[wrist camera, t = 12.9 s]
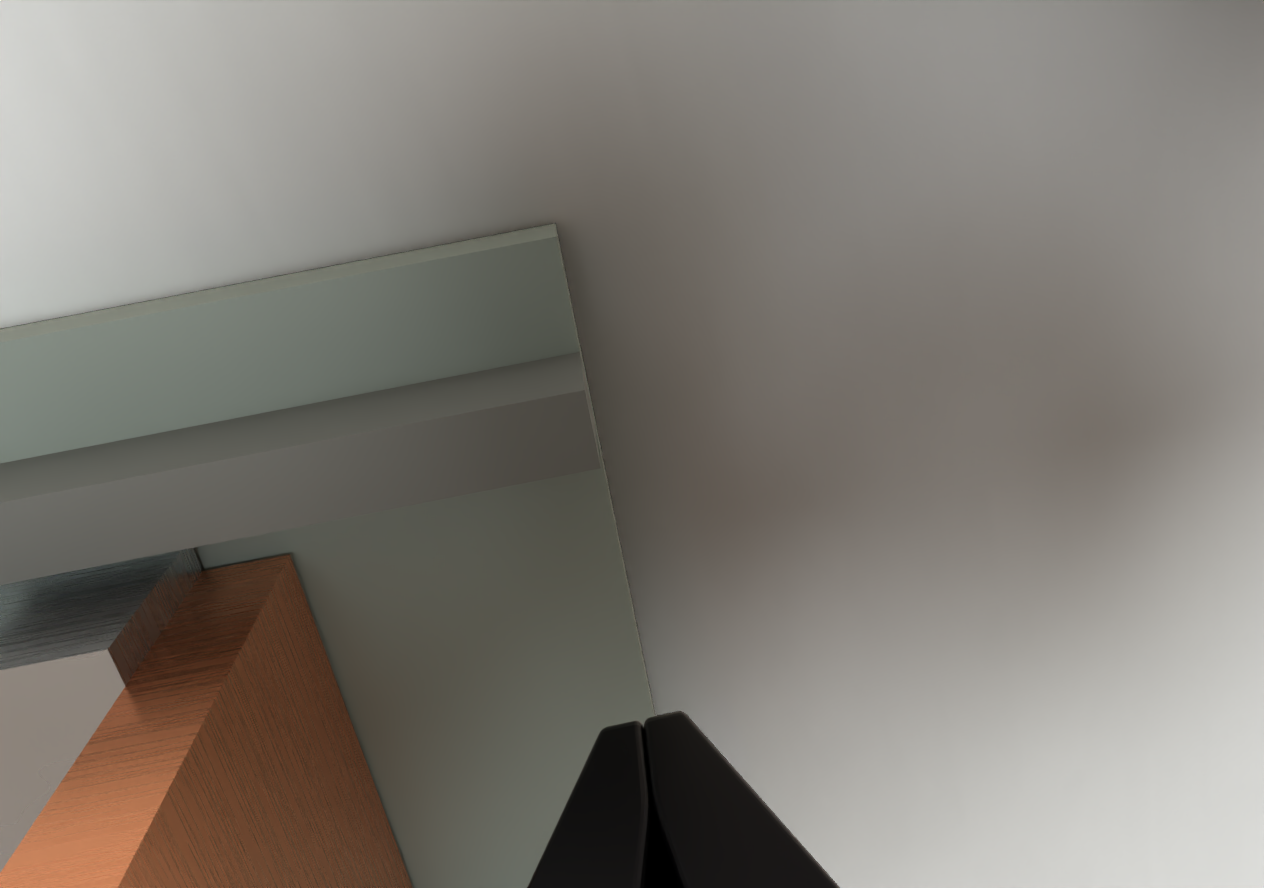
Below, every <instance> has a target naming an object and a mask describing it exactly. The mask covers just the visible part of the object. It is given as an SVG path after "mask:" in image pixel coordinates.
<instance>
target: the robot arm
mask: <svg viewBox="0 0 1264 888" xmlns="http://www.w3.org/2000/svg"><path fill="white" fill-rule="evenodd" d="M527 888H840V887H839V886H838V885H837V884H836V883H835V881H834V880H833V879H832V878H831V877H830V876H829V875H828V874H827V872H826V871H825V870H824V869H823V868H822V867H821V866H820V864H819V863H818V862H817V861H816V860H815V859H814V858H813V857H812V855H811V854H810V853H809V852H808V851H807V850H806V849H805V848H804V846H803V845H802V844H801V843H800V842H799V841H798V840H797V838H796V837H795V836H794V835H793V834H792V833H791V832H790V831H789V829H788V828H787V827H786V826H785V825H784V824H783V823H782V822H781V820H780V819H779V818H778V817H777V816H776V815H775V814H774V812H773V811H772V810H771V809H770V808H769V807H768V806H767V805H766V803H765V802H764V801H763V800H762V799H761V798H760V797H759V796H758V794H757V793H756V792H755V791H754V790H753V789H752V788H751V787H750V785H749V784H748V783H747V782H746V781H745V780H744V779H743V777H742V776H741V775H740V774H739V773H738V772H737V771H736V770H735V768H734V767H733V766H732V765H731V764H730V763H729V762H728V761H727V759H726V758H725V757H724V756H723V755H722V754H721V753H720V751H719V750H718V749H717V748H716V747H715V746H714V745H713V744H712V742H711V741H710V740H709V739H708V738H707V737H706V736H705V735H704V733H703V732H702V731H701V730H700V729H699V728H698V727H697V725H696V724H695V723H694V722H693V721H692V720H691V719H690V718H689V716H688V715H686V714H685V713H684V712H681V711H676V712H672V713H667V714H662V715H658V716H653V717H649V718H647V719H646V720H645V723H644V726H643V724H642V723H641V722H640V721H630V722H626V723H621V724H617V725H612V726H607V727H605V728H603V729H602V730H601V731H600V733H599V735H598V737H597V739H596V741H595V743H594V745H593V748H592V750H591V752H590V754H589V756H588V758H587V760H586V763H585V765H584V767H583V769H582V771H581V773H580V775H579V778H578V780H577V782H576V784H575V786H574V788H573V790H572V793H571V795H570V797H569V799H568V801H567V803H566V805H565V808H564V810H563V812H562V814H561V816H560V818H559V820H558V823H557V825H556V827H555V829H554V831H553V833H552V835H551V838H550V840H549V842H548V844H547V846H546V848H545V850H544V853H543V855H542V857H541V859H540V861H539V863H538V865H537V868H536V870H535V872H534V874H533V876H532V878H531V880H530V883H529V885H528V887H527Z"/></svg>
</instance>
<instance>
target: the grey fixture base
mask: <svg viewBox="0 0 1264 888" xmlns="http://www.w3.org/2000/svg"><path fill="white" fill-rule="evenodd" d="M189 548H193V549H194V552H195V554H196V557H197V559H198V562H199V564H200V566H201V569H202V571H206V570H212V569H217V568H222V567H227V566H232V565H237V564H242V563H247V562H253V561H258V560H263V559H268V558H273V557H278V556H283V555H288V554H290V556H291V559H292V561H293V564H294V567H295V570H296V572H297V575H298V578H299V581H300V583H301V586H302V589H303V591H304V594H305V597H306V600H307V602H308V605H309V608H310V610H311V613H312V616H313V619H314V621H315V624H316V627H317V629H318V632H319V635H320V638H321V640H322V643H323V646H324V648H325V651H326V654H327V657H328V659H329V662H330V665H331V667H332V670H333V673H334V676H335V678H336V681H337V684H338V686H339V689H340V692H341V695H342V697H343V700H344V703H345V705H346V708H347V711H348V714H349V716H350V719H351V722H352V724H353V727H354V730H355V733H356V735H357V738H358V741H359V744H360V746H361V749H362V752H363V754H364V757H365V760H366V763H367V765H368V768H369V771H370V773H371V776H372V779H373V782H374V784H375V787H376V790H377V792H378V795H379V798H380V801H381V803H382V806H383V809H384V811H385V814H386V817H387V820H388V822H389V825H390V828H391V830H392V833H393V836H394V839H395V841H396V844H397V847H398V849H399V852H400V855H401V858H402V860H403V863H404V866H405V868H406V871H407V874H408V877H409V879H410V882H411V885H412V888H527V887H528V885H529V883H530V880H531V878H532V876H533V874H534V872H535V870H536V868H537V865H538V863H539V861H540V859H541V857H542V855H543V853H544V850H545V848H546V846H547V844H548V842H549V840H550V838H551V835H552V833H553V831H554V829H555V827H556V825H557V823H558V820H559V818H560V816H561V814H562V812H563V810H564V808H565V805H566V803H567V801H568V799H569V797H570V795H571V793H572V790H573V788H574V786H575V784H576V782H577V780H578V778H579V775H580V773H581V771H582V769H583V767H584V765H585V763H586V760H587V758H588V756H589V754H590V752H591V750H592V748H593V745H594V743H595V741H596V739H597V737H598V735H599V733H600V731H601V730H602V729H603V728H605V727H607V726H612V725H617V724H621V723H626V722H630V721H640V722H641V723H642V724H643V726H644V723H645V720H646V719H647V718H649V717H653V716H655V712H654V707H653V702H652V697H651V692H650V687H649V682H648V677H647V672H646V668H645V663H644V658H643V653H642V648H641V643H640V638H639V633H638V628H637V623H636V618H635V613H634V608H633V603H632V598H631V593H630V589H629V584H628V579H627V574H626V569H625V564H624V559H623V554H622V549H621V544H620V539H619V534H618V529H617V524H616V519H615V515H614V510H613V505H612V500H611V495H610V490H609V485H608V480H607V475H606V470H605V465H604V460H603V455H602V450H601V445H600V441H599V436H598V431H597V426H596V421H595V416H594V411H593V406H592V401H591V396H590V391H589V386H588V381H587V376H586V371H585V366H584V362H583V357H582V352H581V347H580V342H579V337H578V332H577V327H576V322H575V317H574V312H573V307H572V302H571V297H570V292H569V288H568V283H567V278H566V273H565V268H564V263H563V258H562V253H561V248H560V243H559V238H558V233H557V228H556V223H555V224H550V225H544V226H539V227H534V228H529V229H523V230H518V231H513V232H508V233H502V234H497V235H492V236H487V237H481V238H476V239H471V240H466V241H460V242H455V243H450V244H445V245H439V246H434V247H429V248H424V249H418V250H413V251H408V252H403V253H397V254H392V255H387V256H382V257H376V258H371V259H366V260H361V261H355V262H350V263H345V264H340V265H334V266H329V267H324V268H319V269H313V270H308V271H303V272H298V273H292V274H287V275H282V276H276V277H271V278H266V279H261V280H255V281H250V282H245V283H240V284H234V285H229V286H224V287H219V288H213V289H208V290H203V291H198V292H192V293H187V294H182V295H177V296H171V297H166V298H161V299H156V300H150V301H145V302H140V303H135V304H129V305H124V306H119V307H114V308H108V309H103V310H98V311H93V312H87V313H82V314H77V315H72V316H66V317H61V318H56V319H51V320H45V321H40V322H35V323H30V324H24V325H19V326H14V327H9V328H3V329H0V585H4V584H9V583H14V582H19V581H24V580H29V579H35V578H40V577H45V576H50V575H55V574H60V573H65V572H71V571H76V570H81V569H86V568H91V567H96V566H101V565H106V564H112V563H117V562H122V561H127V560H132V559H137V558H142V557H148V556H153V555H158V554H163V553H168V552H173V551H178V550H184V549H189Z"/></svg>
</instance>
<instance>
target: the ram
mask: <svg viewBox="0 0 1264 888" xmlns="http://www.w3.org/2000/svg"><path fill="white" fill-rule="evenodd" d="M0 888H412V885H411V882H410V879H409V877H408V874H407V871H406V868H405V866H404V863H403V860H402V858H401V855H400V852H399V849H398V847H397V844H396V841H395V839H394V836H393V833H392V830H391V828H390V825H389V822H388V820H387V817H386V814H385V811H384V809H383V806H382V803H381V801H380V798H379V795H378V792H377V790H376V787H375V784H374V782H373V779H372V776H371V773H370V771H369V768H368V765H367V763H366V760H365V757H364V754H363V752H362V749H361V746H360V744H359V741H358V738H357V735H356V733H355V730H354V727H353V724H352V722H351V719H350V716H349V714H348V711H347V708H346V705H345V703H344V700H343V697H342V695H341V692H340V689H339V686H338V684H337V681H336V678H335V676H334V673H333V670H332V667H331V665H330V662H329V659H328V657H327V654H326V651H325V648H324V646H323V643H322V640H321V638H320V635H319V632H318V629H317V627H316V624H315V621H314V619H313V616H312V613H311V610H310V608H309V605H308V602H307V600H306V597H305V594H304V591H303V589H302V586H301V583H300V581H299V578H298V575H297V572H296V570H295V567H294V564H293V561H292V559H291V556H290V554H288V555H283V556H278V557H273V558H268V559H263V560H258V561H253V562H247V563H242V564H237V565H232V566H227V567H222V568H217V569H212V570H206V571H202V569H201V566H200V564H199V562H198V559H197V557H196V554H195V552H194V549H193V548H189V549H184V550H178V551H173V552H168V553H163V554H158V555H153V556H148V557H142V558H137V559H132V560H127V561H122V562H117V563H112V564H106V565H101V566H96V567H91V568H86V569H81V570H76V571H71V572H65V573H60V574H55V575H50V576H45V577H40V578H35V579H29V580H24V581H19V582H14V583H9V584H4V585H0Z"/></svg>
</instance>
